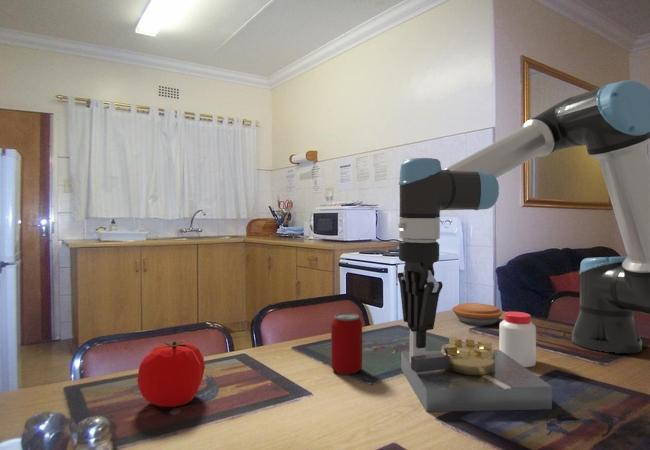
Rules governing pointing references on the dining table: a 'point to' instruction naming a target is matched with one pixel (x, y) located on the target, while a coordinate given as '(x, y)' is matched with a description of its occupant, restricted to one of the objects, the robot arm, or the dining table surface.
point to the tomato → (171, 374)
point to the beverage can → (346, 343)
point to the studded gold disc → (458, 358)
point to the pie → (477, 313)
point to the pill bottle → (518, 338)
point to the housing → (479, 387)
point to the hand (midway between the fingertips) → (417, 362)
